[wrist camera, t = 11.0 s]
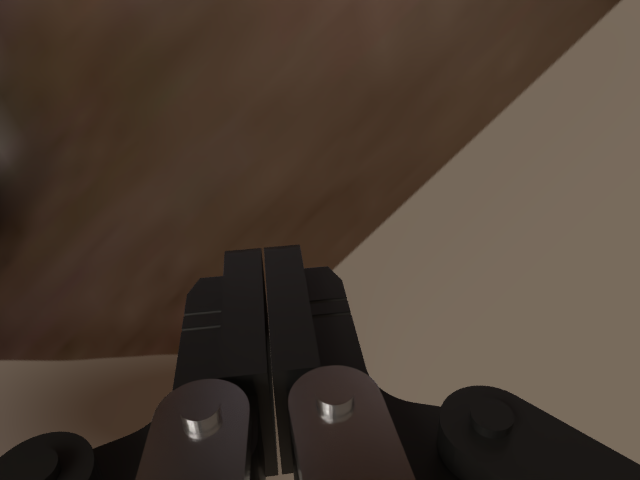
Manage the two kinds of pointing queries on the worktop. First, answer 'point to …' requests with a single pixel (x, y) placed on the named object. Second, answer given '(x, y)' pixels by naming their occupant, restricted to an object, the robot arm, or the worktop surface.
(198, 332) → the robot arm
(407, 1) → the worktop surface
